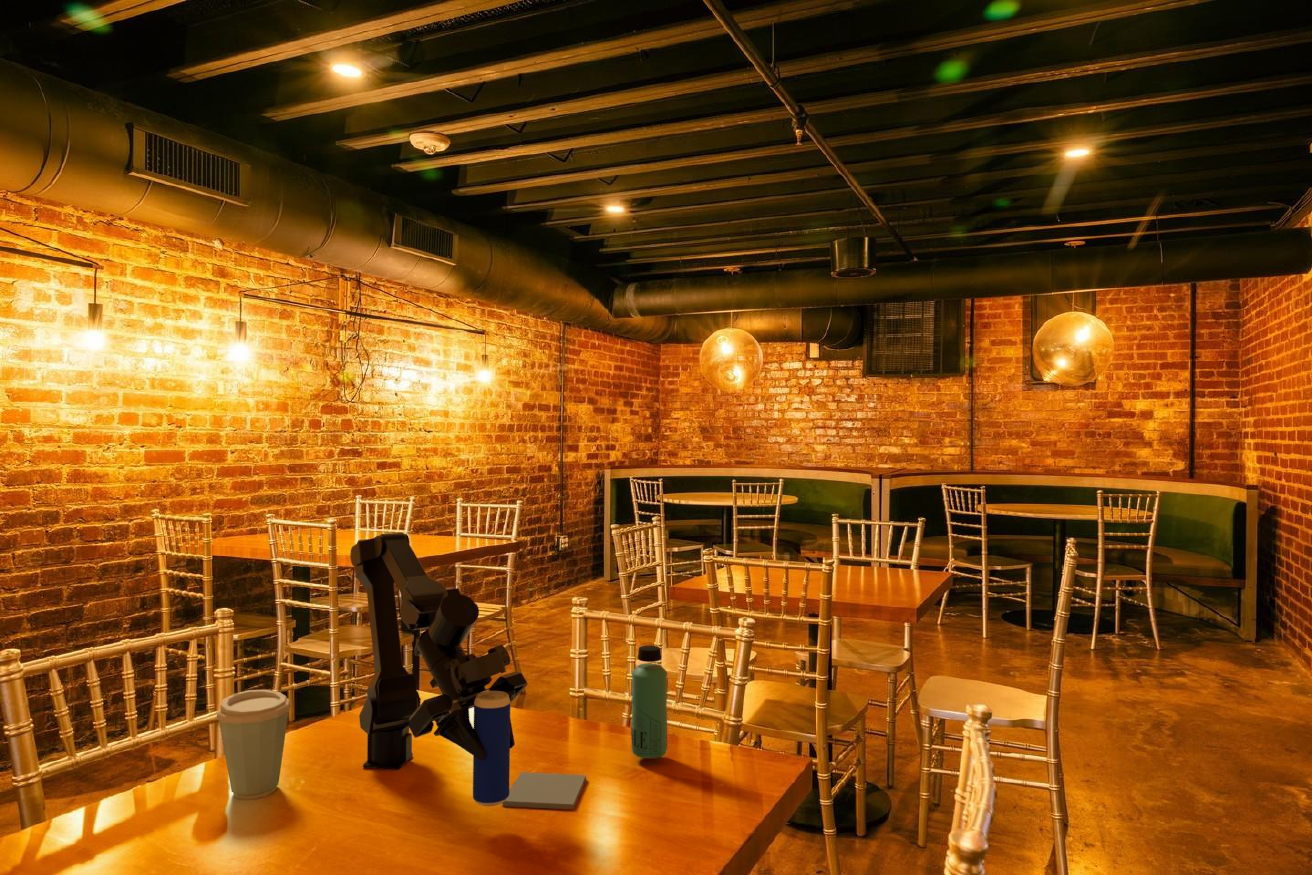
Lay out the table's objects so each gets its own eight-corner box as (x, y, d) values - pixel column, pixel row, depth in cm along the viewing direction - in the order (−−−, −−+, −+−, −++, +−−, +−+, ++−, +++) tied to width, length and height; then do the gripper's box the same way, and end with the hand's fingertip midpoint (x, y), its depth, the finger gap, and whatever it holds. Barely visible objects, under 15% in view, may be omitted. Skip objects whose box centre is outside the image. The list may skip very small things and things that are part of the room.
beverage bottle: (672, 755, 145) (673, 643, 146) (660, 769, 139) (661, 652, 139) (638, 751, 148) (639, 640, 148) (624, 764, 141) (625, 649, 141)
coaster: (502, 805, 125) (502, 800, 125) (521, 776, 136) (521, 772, 136) (573, 809, 124) (573, 804, 124) (586, 779, 135) (586, 775, 135)
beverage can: (513, 792, 120) (514, 690, 120) (503, 808, 115) (504, 702, 115) (479, 790, 120) (480, 689, 120) (467, 806, 115) (469, 700, 115)
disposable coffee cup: (305, 785, 132) (306, 692, 132) (247, 812, 122) (248, 712, 122) (259, 773, 136) (260, 684, 136) (199, 799, 127) (200, 702, 127)
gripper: (423, 642, 112) (477, 741, 106) (519, 619, 127) (572, 704, 121) (386, 689, 117) (436, 786, 110) (484, 661, 132) (532, 744, 126)
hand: (498, 752), depth 117 cm, fingers closed on beverage can, 5 cm apart
